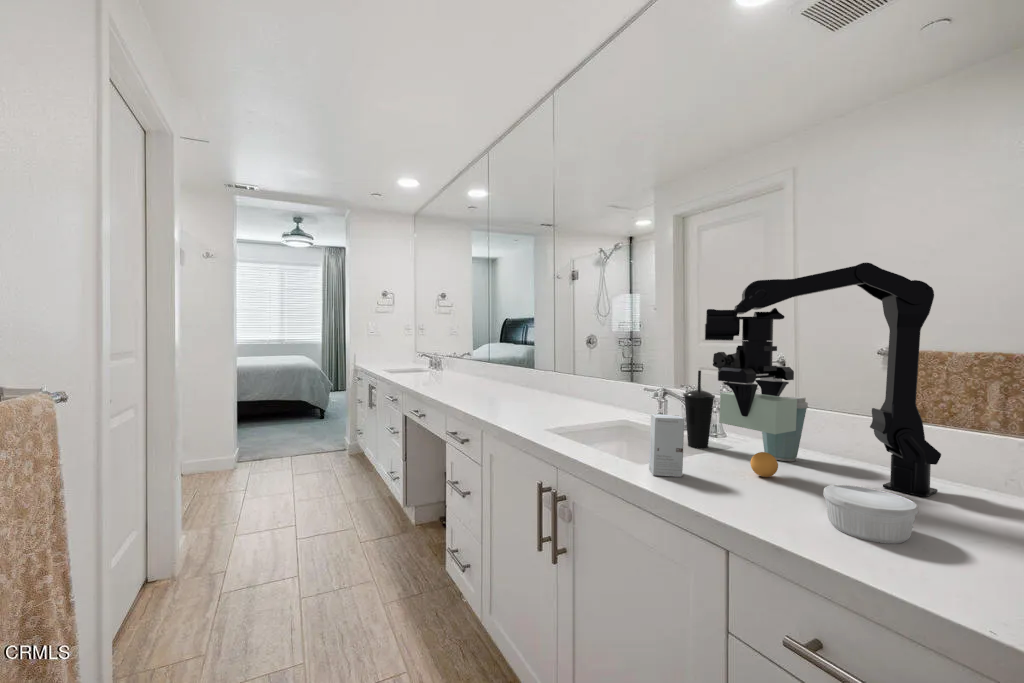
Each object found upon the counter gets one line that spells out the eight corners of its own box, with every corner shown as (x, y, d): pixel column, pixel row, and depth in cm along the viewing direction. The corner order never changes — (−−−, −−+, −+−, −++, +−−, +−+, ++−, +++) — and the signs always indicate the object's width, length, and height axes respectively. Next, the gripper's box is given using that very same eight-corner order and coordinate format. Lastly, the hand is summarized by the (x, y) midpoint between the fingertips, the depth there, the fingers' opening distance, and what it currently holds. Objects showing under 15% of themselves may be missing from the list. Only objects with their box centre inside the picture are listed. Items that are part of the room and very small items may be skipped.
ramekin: (889, 520, 72) (890, 487, 72) (937, 552, 61) (938, 514, 61) (810, 513, 75) (810, 481, 75) (843, 543, 64) (844, 505, 64)
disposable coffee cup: (748, 457, 109) (750, 395, 109) (765, 450, 117) (766, 391, 117) (799, 466, 102) (800, 400, 101) (813, 458, 109) (814, 396, 109)
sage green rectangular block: (740, 419, 103) (741, 391, 103) (795, 430, 93) (797, 399, 93) (719, 422, 99) (720, 393, 99) (774, 434, 89) (776, 401, 89)
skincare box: (653, 476, 93) (654, 417, 93) (648, 469, 97) (649, 413, 97) (684, 477, 93) (685, 418, 92) (677, 470, 97) (678, 414, 97)
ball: (771, 446, 95) (787, 468, 93) (752, 457, 98) (767, 479, 96) (760, 449, 92) (777, 471, 90) (741, 460, 95) (756, 482, 93)
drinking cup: (717, 451, 115) (718, 372, 115) (685, 449, 116) (686, 371, 116) (710, 444, 122) (711, 370, 122) (680, 442, 124) (681, 369, 124)
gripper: (746, 340, 108) (745, 406, 108) (695, 340, 98) (694, 412, 98) (795, 341, 98) (794, 413, 98) (745, 341, 88) (743, 420, 89)
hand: (755, 414), depth 96 cm, fingers closed on sage green rectangular block, 8 cm apart
